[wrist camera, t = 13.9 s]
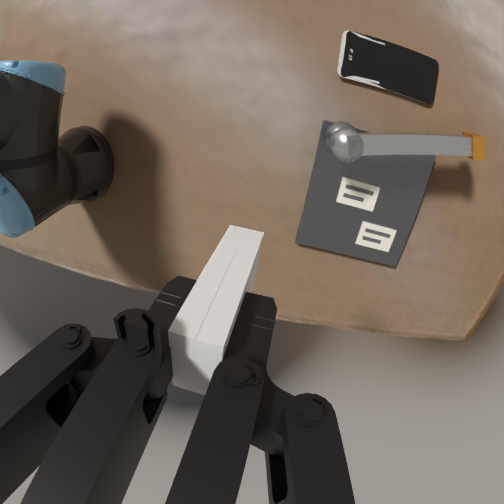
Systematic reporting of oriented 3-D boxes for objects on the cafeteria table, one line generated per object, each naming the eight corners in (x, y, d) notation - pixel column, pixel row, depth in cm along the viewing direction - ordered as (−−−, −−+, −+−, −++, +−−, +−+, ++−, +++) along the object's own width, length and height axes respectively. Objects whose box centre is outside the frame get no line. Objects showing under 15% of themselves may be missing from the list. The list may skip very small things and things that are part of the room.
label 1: (335, 201, 43) (336, 202, 42) (342, 176, 40) (342, 177, 40) (372, 211, 42) (372, 211, 42) (379, 187, 40) (380, 187, 40)
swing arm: (331, 158, 35) (333, 163, 33) (327, 128, 34) (329, 131, 31) (473, 157, 30) (484, 163, 27) (473, 130, 28) (484, 133, 26)
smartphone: (432, 106, 32) (336, 75, 34) (428, 105, 33) (335, 76, 35) (439, 61, 28) (343, 29, 30) (435, 62, 30) (342, 31, 31)
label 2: (355, 242, 45) (355, 244, 45) (362, 220, 43) (363, 221, 43) (387, 251, 45) (388, 252, 44) (396, 230, 43) (396, 231, 42)
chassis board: (295, 239, 48) (293, 256, 44) (323, 116, 38) (326, 118, 33) (393, 263, 47) (400, 281, 42) (433, 151, 36) (448, 159, 32)
